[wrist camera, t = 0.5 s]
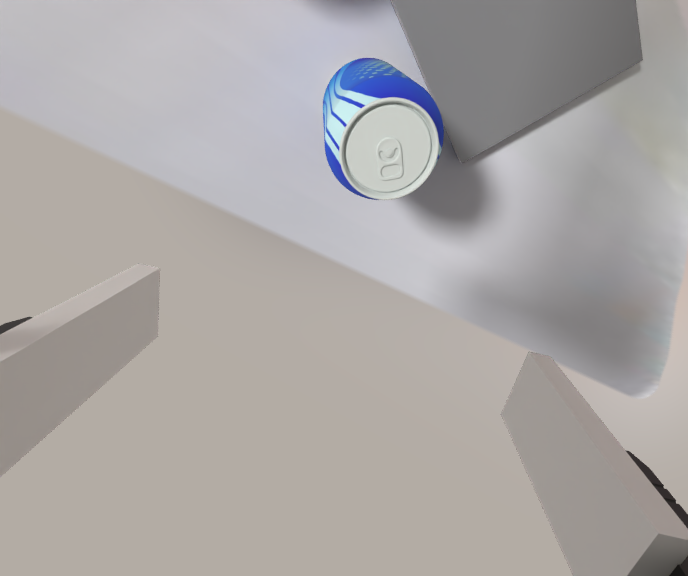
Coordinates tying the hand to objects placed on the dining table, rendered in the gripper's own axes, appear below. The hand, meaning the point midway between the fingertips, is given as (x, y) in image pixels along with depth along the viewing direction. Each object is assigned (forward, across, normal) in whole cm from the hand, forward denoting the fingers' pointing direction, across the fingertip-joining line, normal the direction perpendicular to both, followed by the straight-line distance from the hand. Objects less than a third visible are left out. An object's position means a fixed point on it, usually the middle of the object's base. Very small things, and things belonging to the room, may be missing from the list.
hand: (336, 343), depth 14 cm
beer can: (+30, -2, +10) cm, 32 cm away
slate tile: (+30, +10, +19) cm, 37 cm away
